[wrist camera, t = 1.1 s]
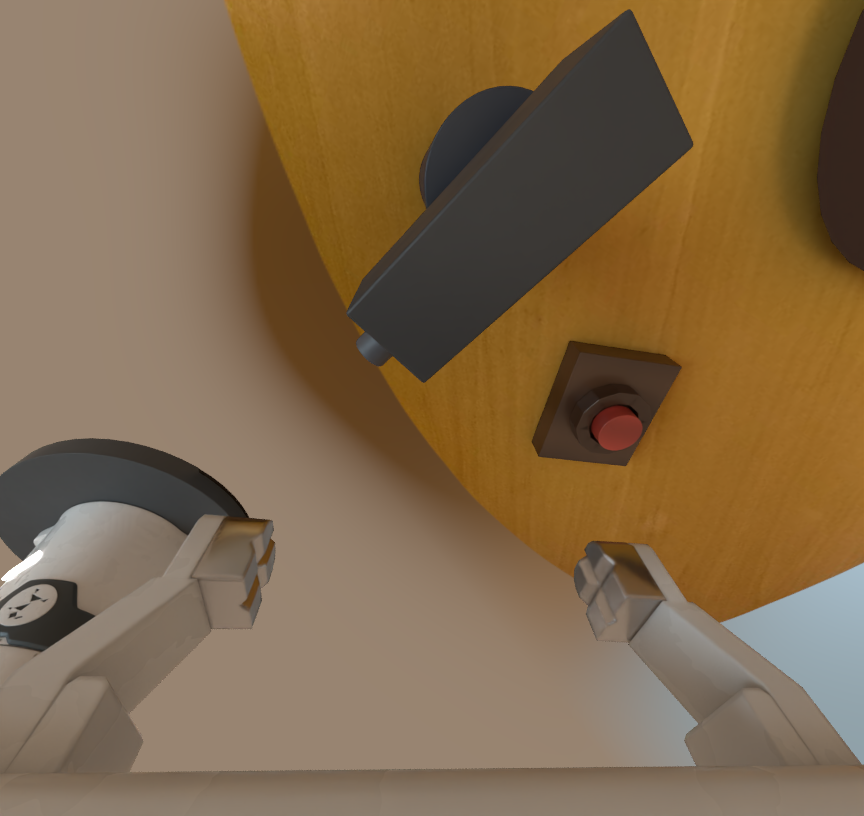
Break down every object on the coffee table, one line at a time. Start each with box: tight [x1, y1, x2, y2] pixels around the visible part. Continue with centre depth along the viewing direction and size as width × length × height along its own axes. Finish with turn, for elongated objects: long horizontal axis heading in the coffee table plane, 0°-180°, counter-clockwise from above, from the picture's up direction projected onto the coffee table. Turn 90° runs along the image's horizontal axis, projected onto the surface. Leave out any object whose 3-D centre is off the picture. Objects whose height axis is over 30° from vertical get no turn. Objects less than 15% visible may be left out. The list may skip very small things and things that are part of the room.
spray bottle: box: [346, 9, 693, 383], centre depth 19 cm, size 10×6×22 cm, turn 134°
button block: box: [532, 341, 682, 466], centre depth 37 cm, size 12×10×4 cm
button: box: [591, 406, 642, 451], centre depth 35 cm, size 4×4×2 cm
